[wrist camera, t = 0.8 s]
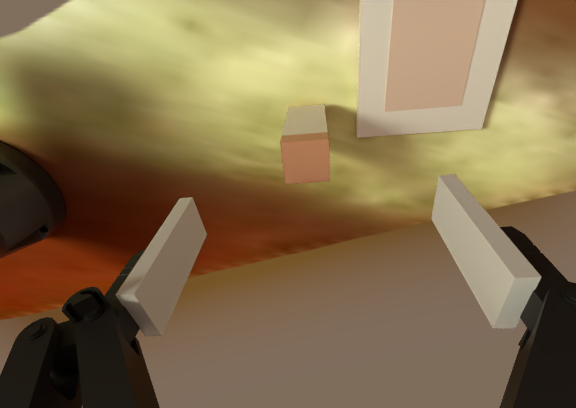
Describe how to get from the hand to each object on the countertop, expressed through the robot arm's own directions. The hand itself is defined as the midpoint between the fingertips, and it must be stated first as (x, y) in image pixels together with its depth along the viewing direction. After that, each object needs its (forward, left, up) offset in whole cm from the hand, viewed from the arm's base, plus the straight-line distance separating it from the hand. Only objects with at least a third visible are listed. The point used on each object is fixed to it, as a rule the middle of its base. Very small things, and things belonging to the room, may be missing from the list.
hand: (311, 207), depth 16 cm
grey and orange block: (0, -1, -17) cm, 17 cm away
